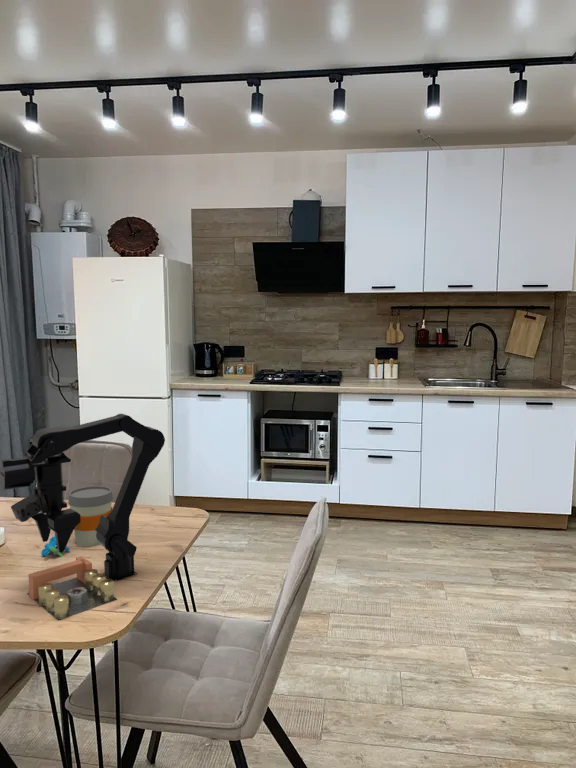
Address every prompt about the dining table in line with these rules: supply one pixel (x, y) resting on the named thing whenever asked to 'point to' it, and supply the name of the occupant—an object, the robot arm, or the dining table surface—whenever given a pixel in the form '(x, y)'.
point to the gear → (52, 547)
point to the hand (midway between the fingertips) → (53, 546)
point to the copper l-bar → (58, 574)
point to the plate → (95, 585)
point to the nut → (77, 595)
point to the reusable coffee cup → (90, 511)
